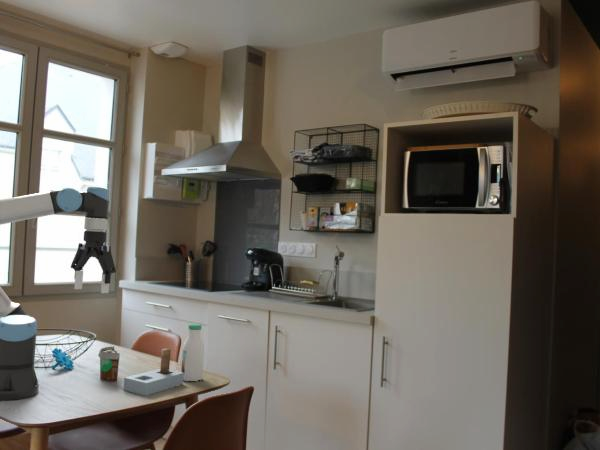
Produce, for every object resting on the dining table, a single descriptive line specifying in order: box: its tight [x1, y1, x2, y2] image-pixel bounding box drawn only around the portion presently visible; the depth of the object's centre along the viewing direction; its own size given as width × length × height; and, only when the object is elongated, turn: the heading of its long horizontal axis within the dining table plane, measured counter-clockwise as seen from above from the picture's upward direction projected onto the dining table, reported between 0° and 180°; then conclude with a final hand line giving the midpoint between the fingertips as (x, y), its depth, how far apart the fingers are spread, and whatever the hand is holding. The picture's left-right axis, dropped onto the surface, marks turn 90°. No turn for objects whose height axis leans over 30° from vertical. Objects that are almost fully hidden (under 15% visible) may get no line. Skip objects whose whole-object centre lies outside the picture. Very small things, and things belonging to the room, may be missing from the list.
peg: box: [159, 348, 172, 375], centre depth 193 cm, size 3×3×12 cm
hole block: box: [122, 368, 184, 396], centre depth 189 cm, size 18×10×4 cm, turn 151°
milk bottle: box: [180, 323, 205, 382], centre depth 202 cm, size 8×8×20 cm
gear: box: [51, 347, 75, 371], centre depth 205 cm, size 11×6×10 cm
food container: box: [97, 346, 120, 382], centre depth 196 cm, size 12×6×10 cm, turn 27°
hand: (91, 291), depth 195 cm, fingers open, 13 cm apart
